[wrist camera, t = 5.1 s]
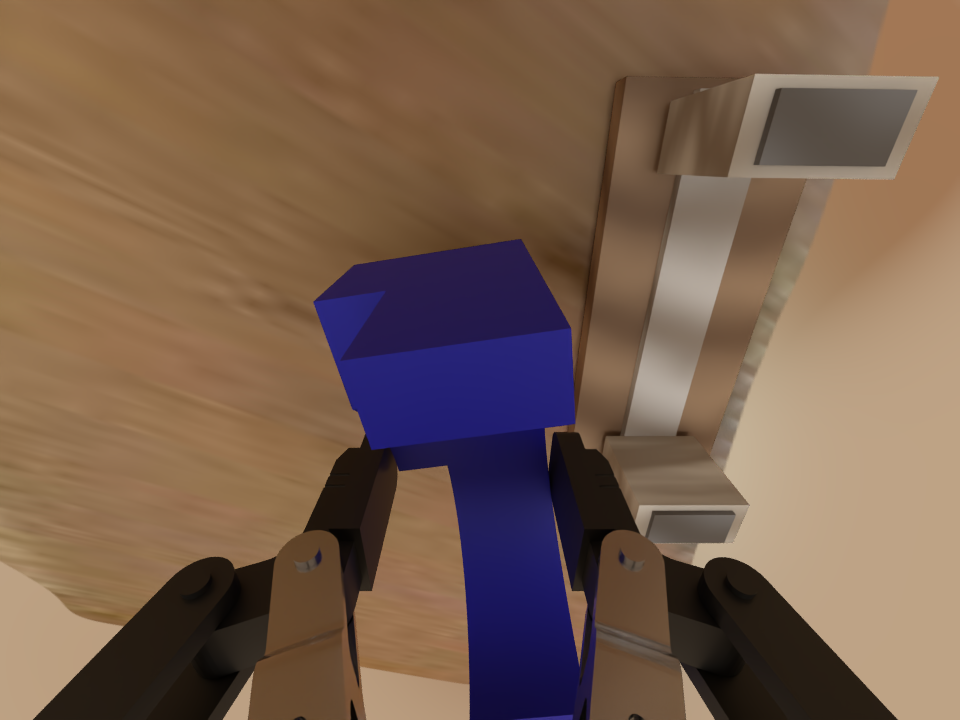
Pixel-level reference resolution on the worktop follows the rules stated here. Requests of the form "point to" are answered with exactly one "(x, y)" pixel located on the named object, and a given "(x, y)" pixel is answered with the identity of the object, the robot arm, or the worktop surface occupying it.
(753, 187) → the rail board
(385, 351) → the blue curved piece
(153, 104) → the worktop surface
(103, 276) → the worktop surface
